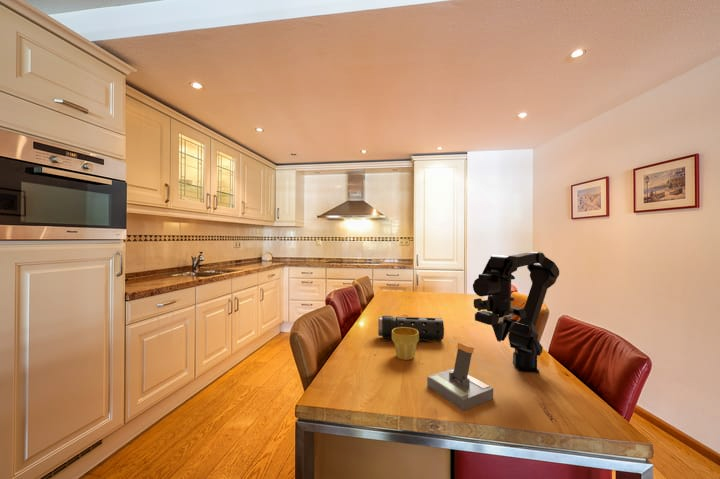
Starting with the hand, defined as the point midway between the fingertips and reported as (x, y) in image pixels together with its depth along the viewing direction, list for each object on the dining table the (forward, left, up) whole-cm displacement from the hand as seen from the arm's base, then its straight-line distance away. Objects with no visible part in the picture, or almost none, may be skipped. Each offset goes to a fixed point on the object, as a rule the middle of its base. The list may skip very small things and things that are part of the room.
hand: (500, 340), depth 92 cm
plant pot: (+31, -11, -12) cm, 35 cm away
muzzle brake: (+29, -29, -12) cm, 43 cm away
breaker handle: (+15, +12, -9) cm, 21 cm away
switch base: (+15, +12, -12) cm, 22 cm away
